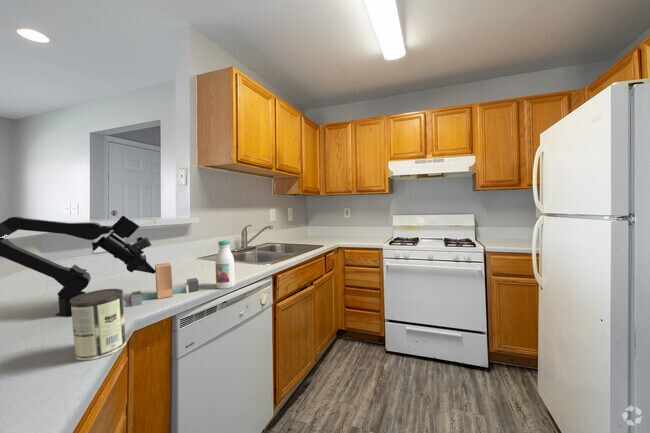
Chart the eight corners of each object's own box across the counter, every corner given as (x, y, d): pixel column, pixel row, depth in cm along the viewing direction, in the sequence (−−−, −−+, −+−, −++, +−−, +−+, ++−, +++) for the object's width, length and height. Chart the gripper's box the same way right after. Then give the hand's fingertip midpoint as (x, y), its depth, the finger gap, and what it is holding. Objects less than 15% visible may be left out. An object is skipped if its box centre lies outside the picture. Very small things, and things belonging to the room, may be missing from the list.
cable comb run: (131, 306, 100) (131, 294, 99) (131, 297, 110) (131, 286, 109) (200, 293, 113) (200, 282, 112) (195, 285, 123) (194, 276, 122)
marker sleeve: (157, 298, 106) (156, 267, 106) (156, 293, 112) (154, 264, 111) (172, 296, 109) (171, 265, 109) (170, 291, 115) (169, 262, 114)
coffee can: (96, 340, 75) (92, 289, 75) (135, 338, 76) (132, 287, 75) (62, 362, 65) (57, 303, 64) (107, 360, 65) (103, 301, 65)
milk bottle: (227, 283, 126) (225, 239, 125) (239, 285, 122) (237, 240, 121) (212, 287, 119) (210, 241, 118) (224, 290, 115) (222, 242, 114)
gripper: (135, 233, 97) (173, 259, 104) (135, 229, 112) (168, 252, 119) (109, 258, 93) (150, 284, 100) (112, 251, 108) (147, 274, 115)
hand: (155, 272), depth 109 cm, fingers closed, pressing on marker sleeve
